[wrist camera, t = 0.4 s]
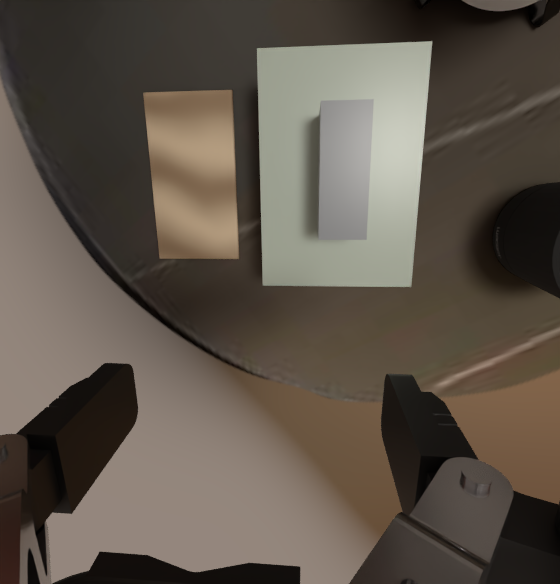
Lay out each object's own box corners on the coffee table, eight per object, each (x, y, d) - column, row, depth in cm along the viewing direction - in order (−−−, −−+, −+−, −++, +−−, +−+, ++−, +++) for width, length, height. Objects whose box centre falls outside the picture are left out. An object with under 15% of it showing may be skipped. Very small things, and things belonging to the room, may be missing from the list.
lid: (261, 59, 27) (246, 19, 21) (422, 53, 26) (458, 9, 20) (265, 278, 32) (254, 302, 25) (404, 280, 31) (429, 304, 24)
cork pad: (145, 93, 34) (143, 92, 33) (232, 90, 33) (231, 89, 33) (161, 257, 38) (159, 258, 37) (239, 258, 37) (238, 258, 37)
